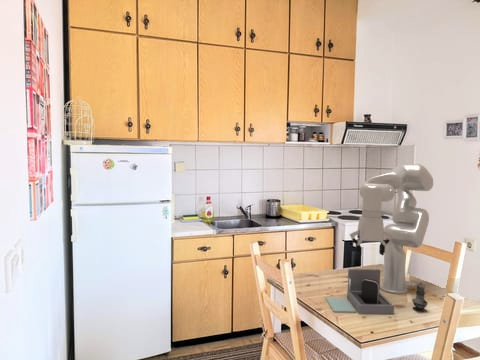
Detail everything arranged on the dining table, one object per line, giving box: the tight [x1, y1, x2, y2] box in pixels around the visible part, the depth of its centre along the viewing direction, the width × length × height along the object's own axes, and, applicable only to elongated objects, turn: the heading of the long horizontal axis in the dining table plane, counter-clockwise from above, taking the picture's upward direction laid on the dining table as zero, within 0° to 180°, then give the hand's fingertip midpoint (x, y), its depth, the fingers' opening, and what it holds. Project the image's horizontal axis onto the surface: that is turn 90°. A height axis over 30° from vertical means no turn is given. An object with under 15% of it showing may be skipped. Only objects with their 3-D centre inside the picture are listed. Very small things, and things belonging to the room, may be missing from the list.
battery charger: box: [361, 279, 381, 304], centre depth 151 cm, size 7×4×11 cm, turn 53°
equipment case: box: [346, 268, 395, 315], centre depth 151 cm, size 14×16×14 cm
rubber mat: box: [325, 297, 357, 314], centre depth 151 cm, size 9×14×1 cm, turn 0°
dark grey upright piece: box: [411, 281, 429, 313], centre depth 148 cm, size 6×6×12 cm
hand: (370, 254), depth 150 cm, fingers open, 9 cm apart
